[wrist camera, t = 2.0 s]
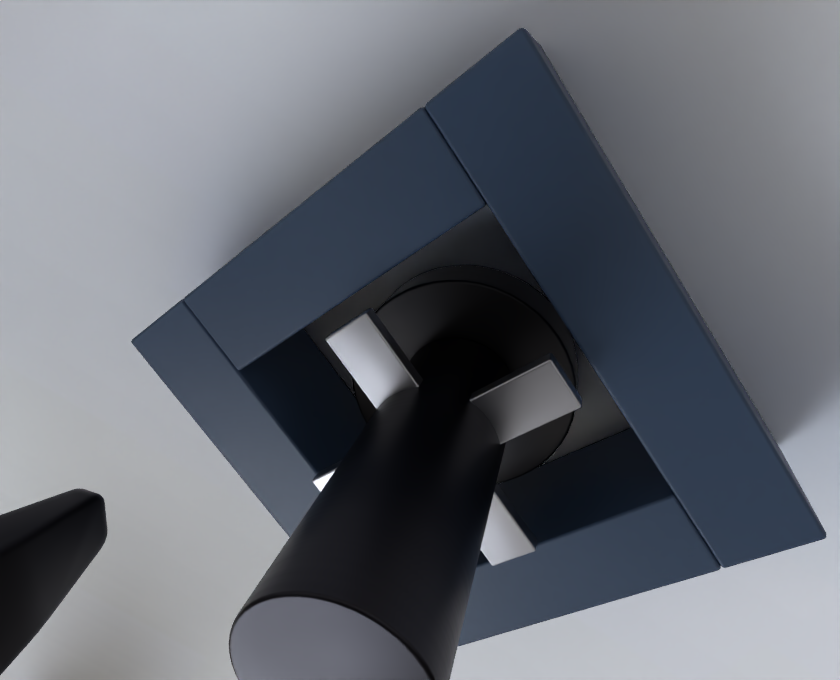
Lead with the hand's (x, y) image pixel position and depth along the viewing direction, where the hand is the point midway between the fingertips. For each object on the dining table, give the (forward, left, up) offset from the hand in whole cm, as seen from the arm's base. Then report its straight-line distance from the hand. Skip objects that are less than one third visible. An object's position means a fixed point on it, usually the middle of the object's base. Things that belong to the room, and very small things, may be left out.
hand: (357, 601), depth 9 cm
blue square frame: (0, 0, -9) cm, 9 cm away
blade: (0, 0, -9) cm, 9 cm away
